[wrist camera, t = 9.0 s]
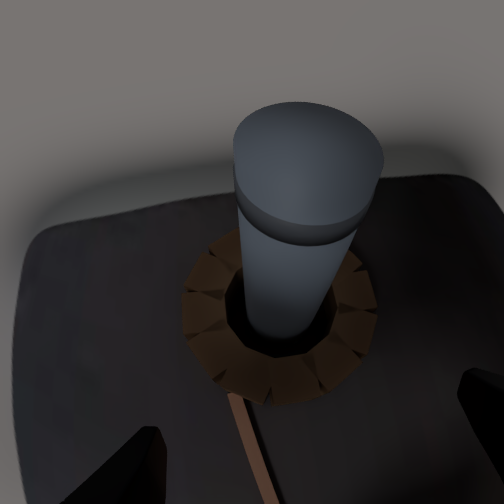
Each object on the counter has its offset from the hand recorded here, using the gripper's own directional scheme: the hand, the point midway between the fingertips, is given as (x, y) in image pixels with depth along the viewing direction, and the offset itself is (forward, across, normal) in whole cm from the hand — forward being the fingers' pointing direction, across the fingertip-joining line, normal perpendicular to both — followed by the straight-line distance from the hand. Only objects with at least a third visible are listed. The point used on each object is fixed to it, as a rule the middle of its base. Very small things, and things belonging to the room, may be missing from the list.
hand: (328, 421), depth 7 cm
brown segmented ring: (+10, 0, +2) cm, 11 cm away
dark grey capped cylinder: (+10, 0, +2) cm, 11 cm away
